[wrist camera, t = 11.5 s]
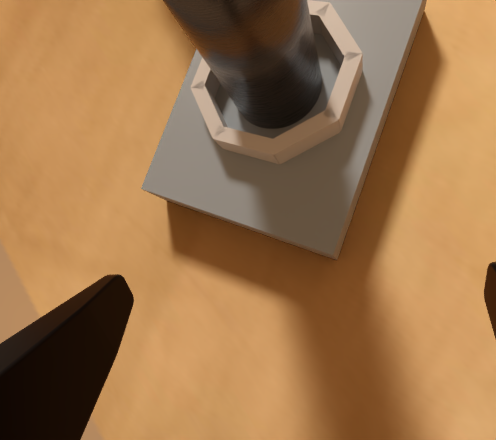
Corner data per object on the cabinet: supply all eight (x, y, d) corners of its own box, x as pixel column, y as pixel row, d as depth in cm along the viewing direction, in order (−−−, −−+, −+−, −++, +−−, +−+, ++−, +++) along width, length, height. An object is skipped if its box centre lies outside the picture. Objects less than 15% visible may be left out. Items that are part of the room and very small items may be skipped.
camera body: (337, 260, 21) (330, 252, 17) (166, 200, 25) (126, 181, 21) (424, 10, 22) (438, -57, 18) (247, -9, 26) (225, -67, 22)
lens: (329, 115, 19) (272, -178, 7) (241, 138, 21) (68, -78, 9) (313, 35, 21) (241, -334, 8) (230, 62, 22) (64, -224, 10)
